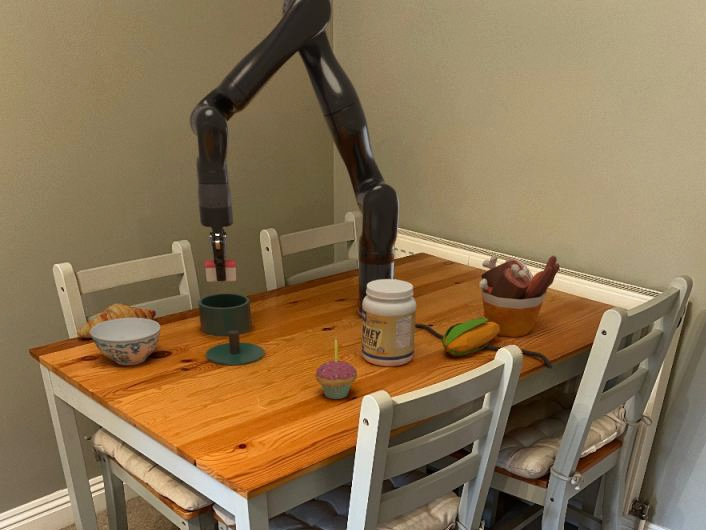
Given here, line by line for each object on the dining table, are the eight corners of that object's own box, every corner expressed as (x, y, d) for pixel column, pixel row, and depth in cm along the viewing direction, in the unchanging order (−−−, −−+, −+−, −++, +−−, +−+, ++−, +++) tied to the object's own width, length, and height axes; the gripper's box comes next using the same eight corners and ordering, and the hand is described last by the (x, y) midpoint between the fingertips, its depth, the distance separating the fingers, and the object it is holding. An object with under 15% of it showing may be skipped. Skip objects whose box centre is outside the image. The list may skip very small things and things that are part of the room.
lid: (275, 353, 175) (274, 328, 172) (242, 372, 165) (240, 346, 162) (229, 343, 180) (227, 318, 177) (194, 361, 170) (191, 335, 167)
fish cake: (236, 276, 183) (235, 259, 181) (236, 281, 180) (234, 264, 177) (207, 276, 182) (205, 260, 180) (206, 281, 179) (205, 264, 176)
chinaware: (129, 379, 161) (123, 345, 156) (82, 364, 167) (75, 331, 163) (178, 358, 171) (174, 325, 167) (132, 345, 178) (127, 313, 174)
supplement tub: (351, 355, 174) (351, 283, 165) (391, 345, 181) (393, 274, 171) (383, 372, 166) (385, 296, 157) (424, 360, 172) (428, 287, 163)
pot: (261, 327, 190) (259, 298, 186) (231, 341, 181) (229, 311, 177) (221, 319, 195) (219, 290, 191) (191, 333, 186) (188, 303, 182)
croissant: (88, 357, 180) (89, 333, 174) (66, 329, 183) (66, 304, 176) (163, 334, 193) (167, 311, 186) (141, 309, 195) (145, 285, 189)
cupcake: (315, 387, 159) (314, 332, 152) (355, 386, 159) (355, 331, 153) (317, 403, 151) (315, 347, 145) (358, 402, 152) (358, 346, 146)
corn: (435, 324, 171) (488, 305, 183) (431, 355, 175) (483, 335, 187) (460, 334, 167) (512, 314, 179) (455, 365, 171) (507, 344, 183)
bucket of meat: (461, 331, 190) (467, 251, 179) (489, 314, 201) (497, 238, 190) (534, 348, 180) (545, 264, 170) (559, 329, 192) (572, 250, 181)
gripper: (231, 209, 166) (237, 285, 175) (231, 197, 178) (237, 269, 187) (197, 209, 165) (205, 286, 174) (200, 197, 177) (207, 270, 186)
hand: (221, 277), depth 181 cm, fingers closed on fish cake, 4 cm apart
